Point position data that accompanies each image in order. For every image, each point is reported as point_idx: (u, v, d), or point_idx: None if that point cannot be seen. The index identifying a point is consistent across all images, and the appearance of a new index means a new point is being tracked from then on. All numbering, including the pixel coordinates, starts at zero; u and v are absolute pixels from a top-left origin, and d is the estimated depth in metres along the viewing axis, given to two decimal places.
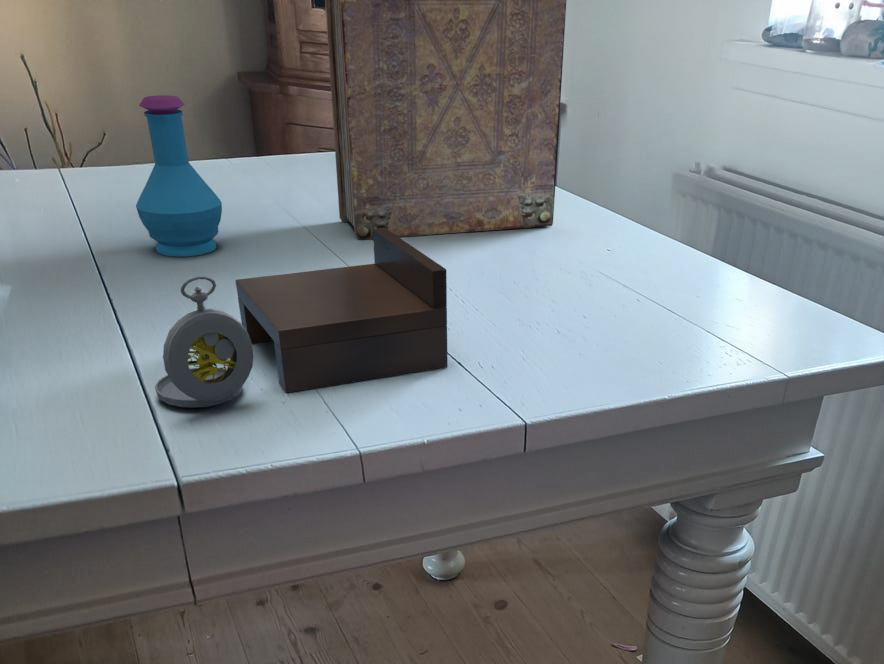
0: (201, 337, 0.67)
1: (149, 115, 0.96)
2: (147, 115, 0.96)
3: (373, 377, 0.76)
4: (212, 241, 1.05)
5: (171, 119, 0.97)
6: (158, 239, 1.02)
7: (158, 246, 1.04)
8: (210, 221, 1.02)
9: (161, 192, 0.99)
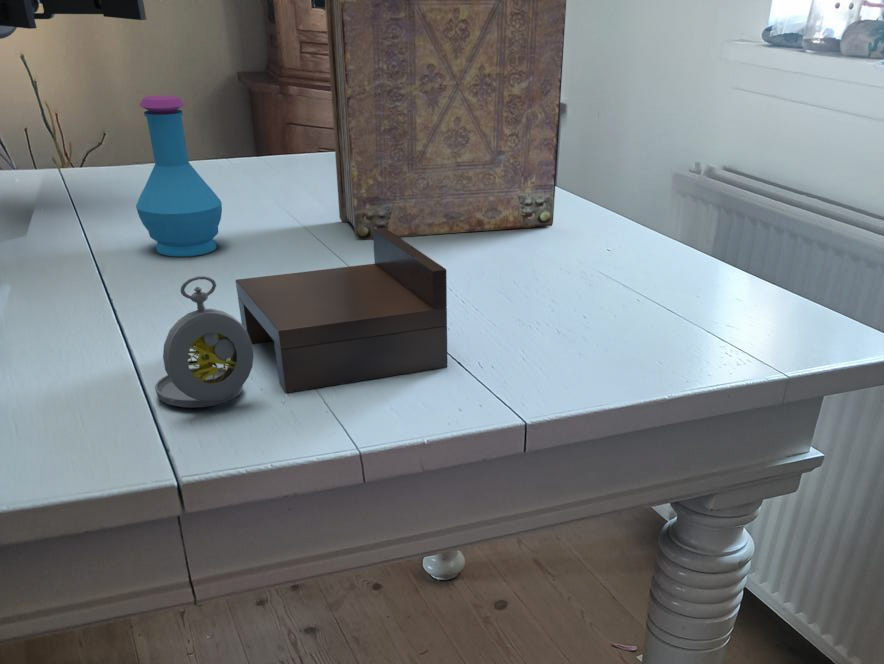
0: (201, 337, 0.67)
1: (149, 115, 0.96)
2: (147, 115, 0.96)
3: (373, 377, 0.76)
4: (212, 241, 1.05)
5: (171, 119, 0.97)
6: (158, 239, 1.02)
7: (158, 246, 1.04)
8: (210, 221, 1.02)
9: (161, 192, 0.99)
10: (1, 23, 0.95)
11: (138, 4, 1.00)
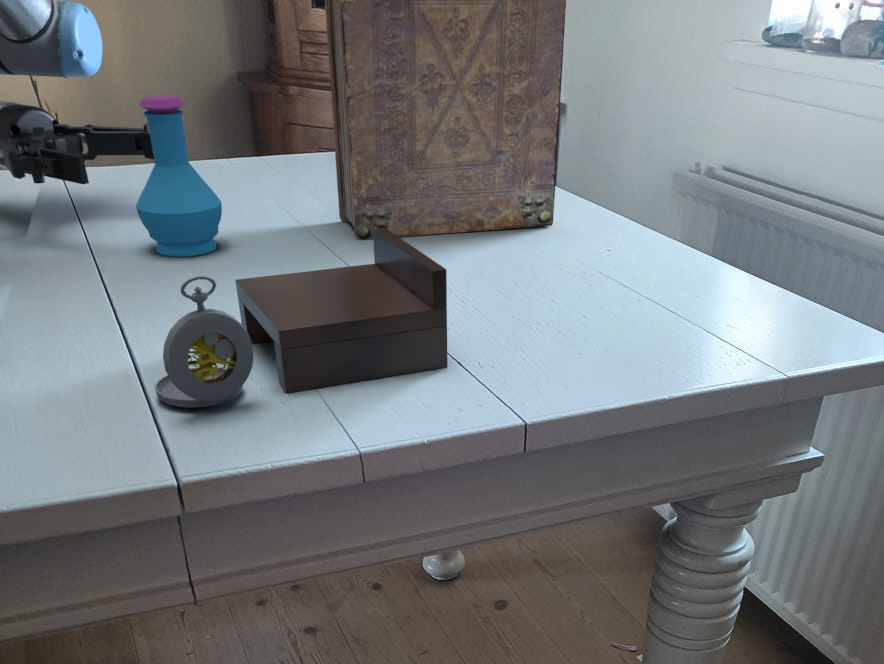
0: (201, 337, 0.67)
1: (149, 115, 0.96)
2: (147, 115, 0.96)
3: (373, 377, 0.76)
4: (212, 241, 1.05)
5: (171, 119, 0.97)
6: (158, 239, 1.02)
7: (158, 246, 1.04)
8: (210, 221, 1.02)
9: (161, 192, 0.99)
10: (55, 176, 1.02)
11: None
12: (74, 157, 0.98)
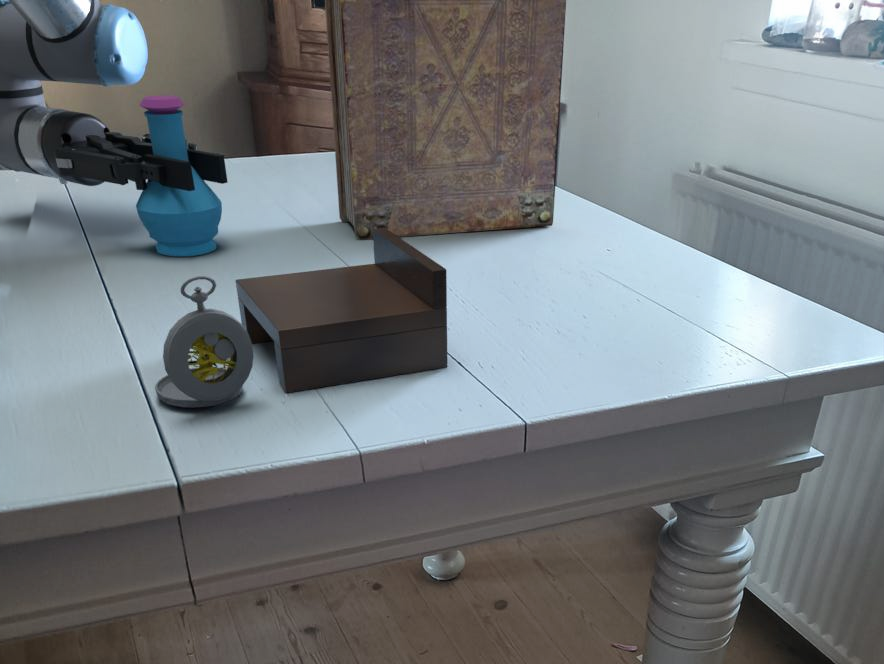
0: (201, 337, 0.67)
1: (149, 115, 0.96)
2: (147, 115, 0.96)
3: (373, 377, 0.76)
4: (212, 241, 1.05)
5: (171, 119, 0.97)
6: (158, 239, 1.02)
7: (158, 246, 1.04)
8: (210, 221, 1.02)
9: (161, 192, 0.99)
10: None
11: (220, 169, 0.99)
12: (182, 163, 0.96)
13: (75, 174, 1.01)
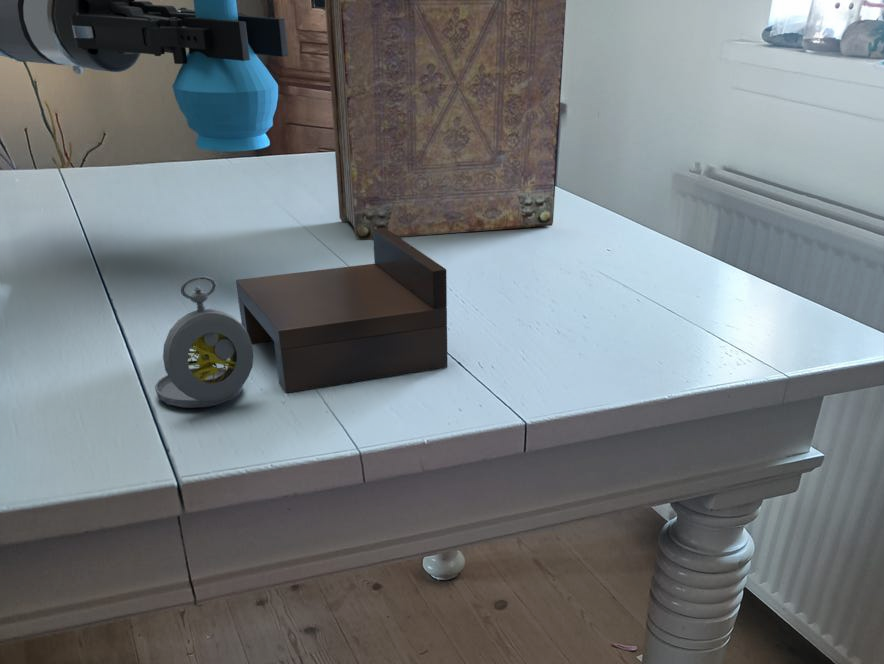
0: (201, 337, 0.67)
1: None
2: None
3: (373, 377, 0.76)
4: (265, 135, 0.85)
5: None
6: (200, 128, 0.82)
7: (199, 140, 0.84)
8: (265, 106, 0.82)
9: (206, 65, 0.79)
10: None
11: (280, 37, 0.79)
12: (235, 23, 0.76)
13: (96, 46, 0.81)
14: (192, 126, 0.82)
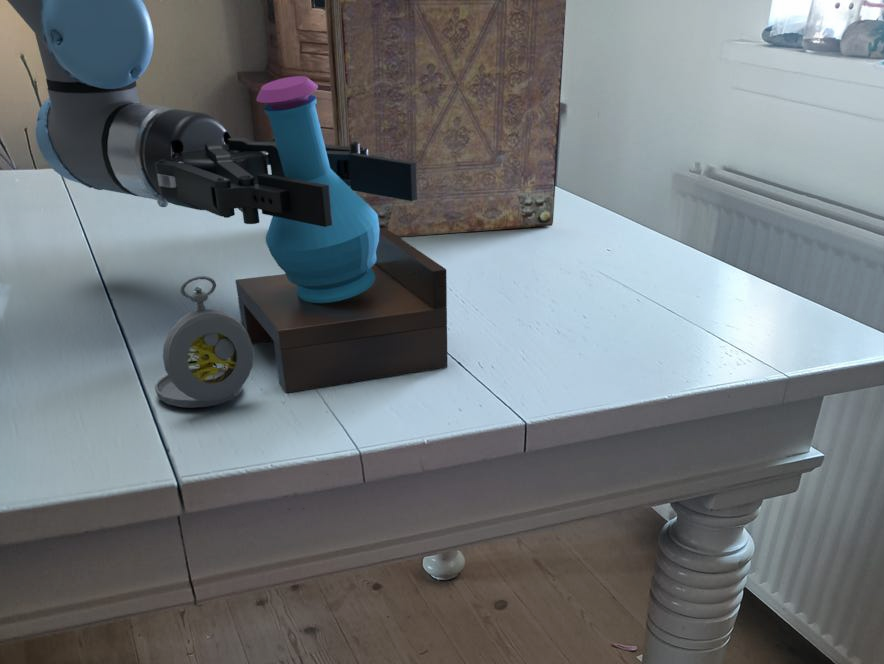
0: (201, 337, 0.67)
1: (273, 112, 0.67)
2: (270, 113, 0.67)
3: (373, 377, 0.76)
4: (370, 270, 0.77)
5: (304, 112, 0.67)
6: (302, 284, 0.74)
7: (301, 291, 0.76)
8: (369, 247, 0.73)
9: None
10: (277, 214, 0.70)
11: (411, 182, 0.74)
12: (317, 188, 0.67)
13: (178, 196, 0.73)
14: (292, 281, 0.75)
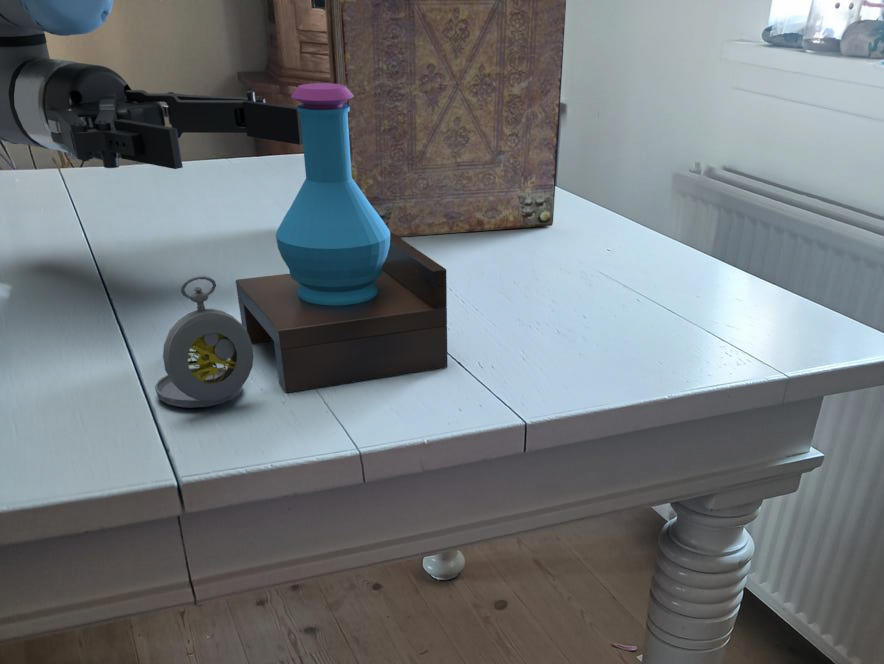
0: (201, 337, 0.67)
1: (307, 111, 0.68)
2: (303, 111, 0.68)
3: (373, 377, 0.76)
4: (373, 283, 0.77)
5: (337, 116, 0.69)
6: (306, 282, 0.74)
7: (302, 291, 0.76)
8: (378, 258, 0.74)
9: (317, 218, 0.71)
10: (134, 158, 0.73)
11: (298, 126, 0.79)
12: (164, 130, 0.70)
13: (62, 142, 0.77)
14: (296, 278, 0.75)
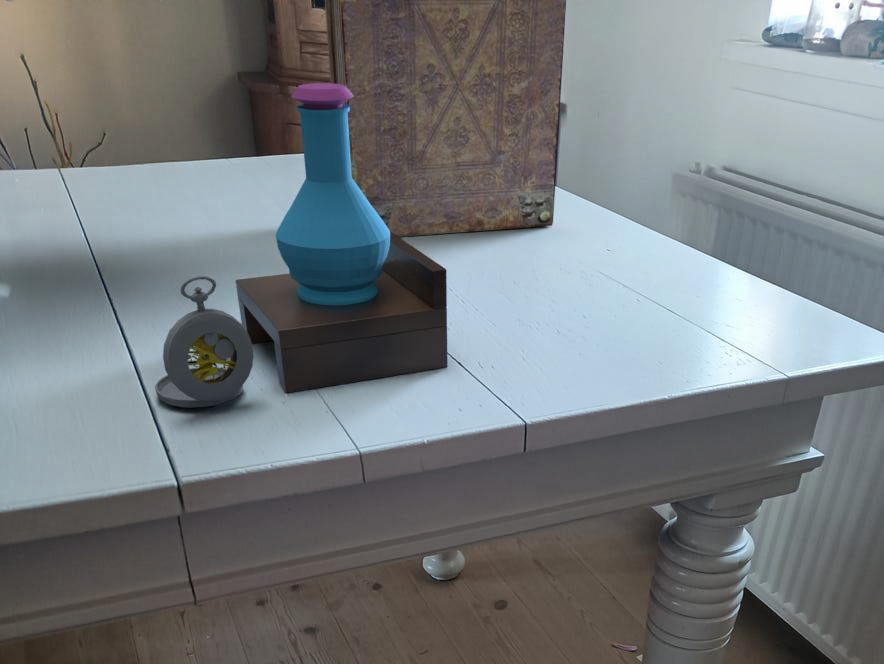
0: (201, 337, 0.67)
1: (307, 111, 0.68)
2: (303, 111, 0.68)
3: (373, 377, 0.76)
4: (373, 283, 0.77)
5: (337, 116, 0.69)
6: (306, 282, 0.74)
7: (302, 291, 0.76)
8: (378, 258, 0.74)
9: (317, 218, 0.71)
10: None
11: None
12: None
13: None
14: (296, 278, 0.75)
